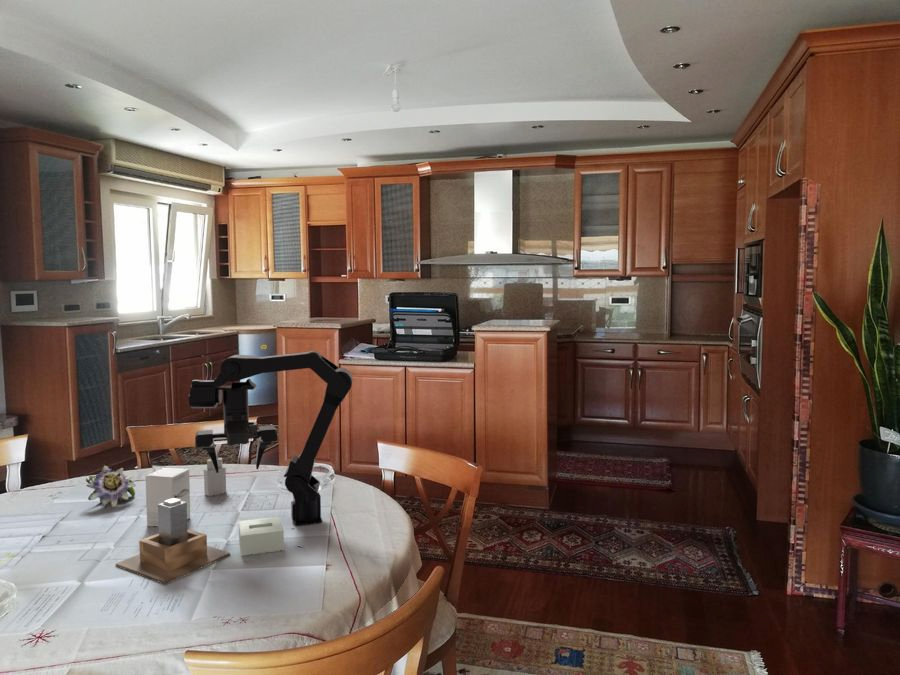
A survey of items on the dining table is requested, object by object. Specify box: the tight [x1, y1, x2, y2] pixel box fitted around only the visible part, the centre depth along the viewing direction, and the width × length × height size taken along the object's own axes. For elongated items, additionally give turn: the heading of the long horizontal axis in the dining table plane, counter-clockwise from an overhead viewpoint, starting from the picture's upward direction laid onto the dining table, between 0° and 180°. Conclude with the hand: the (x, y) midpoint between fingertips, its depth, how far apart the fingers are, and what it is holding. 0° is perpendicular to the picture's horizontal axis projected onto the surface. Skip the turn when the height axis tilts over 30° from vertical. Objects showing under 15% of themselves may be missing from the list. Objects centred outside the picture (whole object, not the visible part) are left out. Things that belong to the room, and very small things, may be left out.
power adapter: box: [203, 449, 227, 497], centre depth 183 cm, size 3×5×12 cm, turn 135°
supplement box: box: [145, 467, 191, 528], centre depth 161 cm, size 7×7×13 cm
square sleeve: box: [115, 528, 231, 585], centre depth 140 cm, size 16×16×5 cm
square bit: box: [158, 498, 188, 547], centre depth 140 cm, size 4×4×13 cm
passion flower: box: [85, 465, 136, 508], centre depth 175 cm, size 11×11×12 cm
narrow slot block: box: [238, 516, 285, 557], centre depth 148 cm, size 9×9×4 cm
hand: (237, 470), depth 161 cm, fingers open, 9 cm apart
